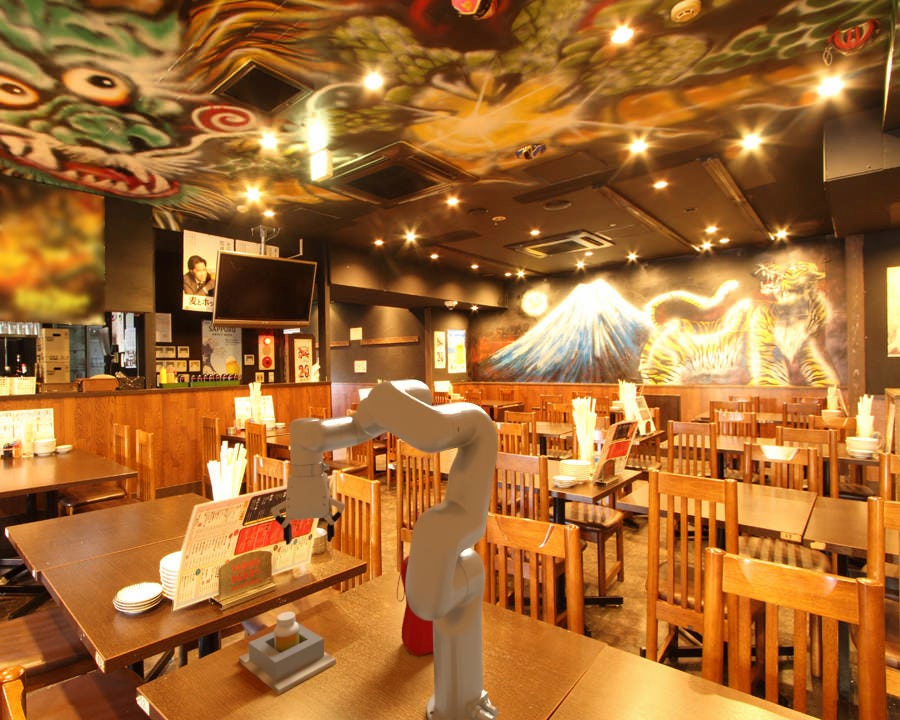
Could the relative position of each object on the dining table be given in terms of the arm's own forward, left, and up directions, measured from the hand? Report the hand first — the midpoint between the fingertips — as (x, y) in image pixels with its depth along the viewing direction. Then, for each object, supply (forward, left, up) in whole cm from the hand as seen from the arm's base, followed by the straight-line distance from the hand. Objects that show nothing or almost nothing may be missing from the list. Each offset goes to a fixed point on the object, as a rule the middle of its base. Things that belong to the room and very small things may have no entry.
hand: (309, 541), depth 121 cm
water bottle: (-19, -17, -26) cm, 37 cm away
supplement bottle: (0, +7, -25) cm, 26 cm away
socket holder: (0, +7, -26) cm, 27 cm away
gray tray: (0, +7, -26) cm, 27 cm away
